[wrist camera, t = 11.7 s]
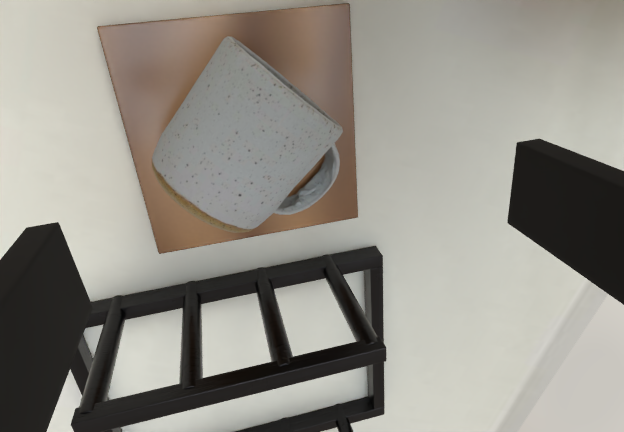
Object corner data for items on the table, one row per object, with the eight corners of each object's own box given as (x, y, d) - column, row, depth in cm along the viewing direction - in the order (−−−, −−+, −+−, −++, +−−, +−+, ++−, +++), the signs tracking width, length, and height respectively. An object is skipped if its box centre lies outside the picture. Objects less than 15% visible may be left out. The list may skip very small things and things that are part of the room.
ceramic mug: (146, 147, 26) (131, 196, 19) (223, 28, 24) (235, 37, 18) (286, 228, 31) (313, 290, 24) (359, 133, 29) (410, 172, 22)
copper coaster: (346, 3, 26) (350, 3, 25) (355, 214, 32) (358, 217, 32) (98, 26, 23) (96, 26, 23) (159, 250, 30) (158, 254, 29)
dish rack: (375, 244, 34) (443, 332, 24) (378, 402, 41) (431, 515, 32) (55, 307, 30) (-9, 442, 20) (124, 470, 37) (100, 621, 28)
